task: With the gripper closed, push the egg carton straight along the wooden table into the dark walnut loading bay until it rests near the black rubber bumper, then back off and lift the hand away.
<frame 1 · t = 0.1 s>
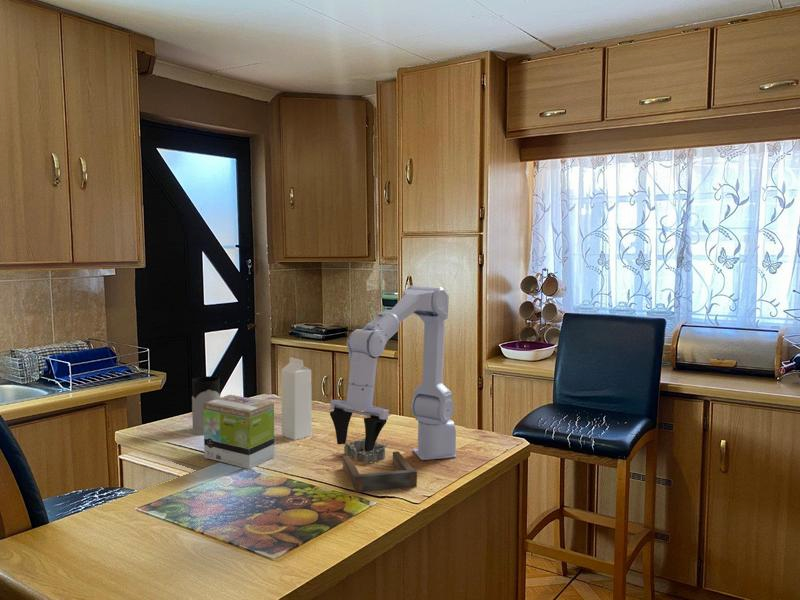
hand: (354, 447, 138), 11 cm above the kitchen island, tool pointing down, fingers open, 7 cm apart
milk: (296, 436, 179), on the kitchen island
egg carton: (364, 457, 163), on the kitchen island
dock: (377, 475, 150), on the kitchen island
tea box: (239, 459, 161), on the kitchen island
glass holder: (205, 428, 186), on the kitchen island
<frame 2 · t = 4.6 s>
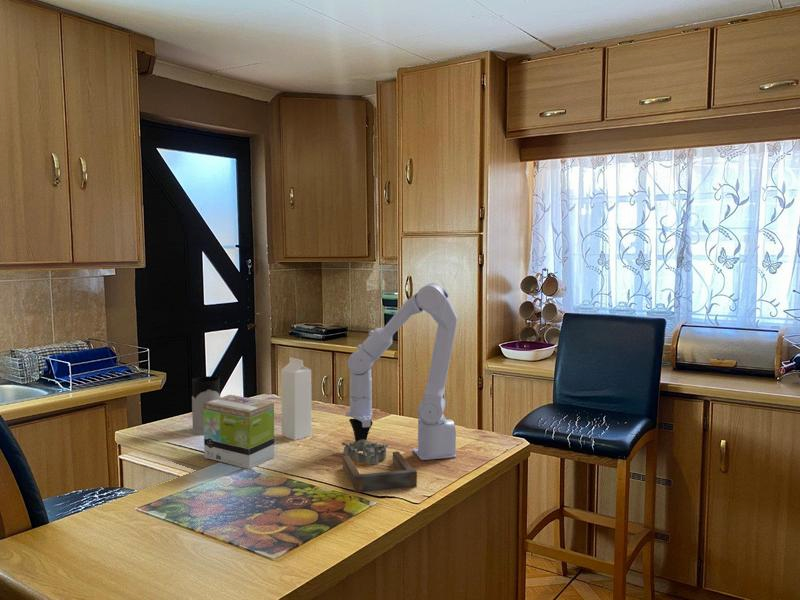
hand: (360, 446, 168), 1 cm above the kitchen island, tool pointing down, fingers closed
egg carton: (365, 458, 162), on the kitchen island, touching gripper
everything else where it was.
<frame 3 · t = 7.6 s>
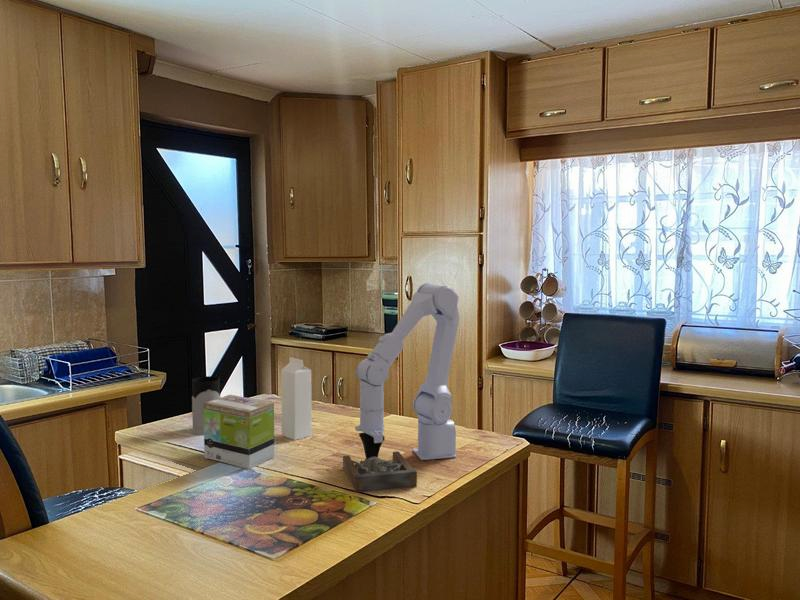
hand: (371, 462, 156), 1 cm above the kitchen island, tool pointing down, fingers closed
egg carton: (376, 478, 149), on the kitchen island
everything else where it was.
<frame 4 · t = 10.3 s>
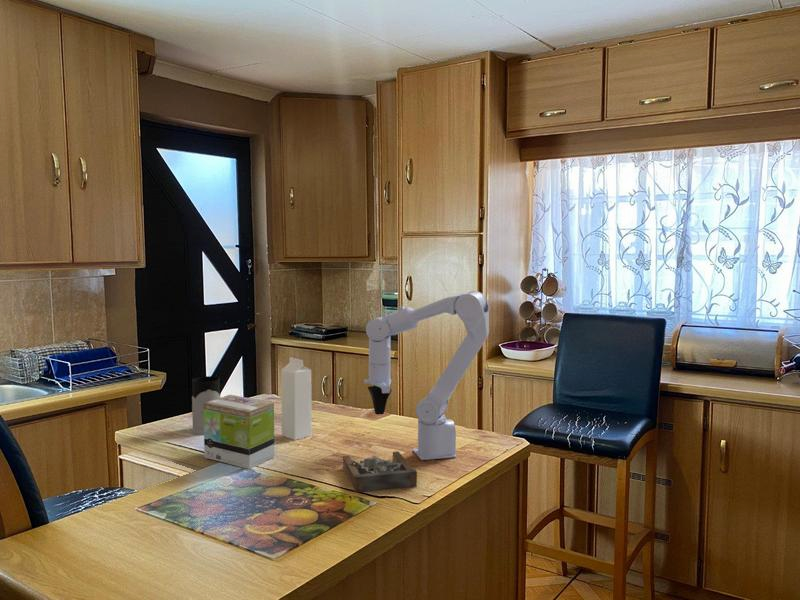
hand: (379, 413, 169), 9 cm above the kitchen island, tool pointing down, fingers closed
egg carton: (376, 477, 149), on the kitchen island, touching dock
everything else where it was.
at the end: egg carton inside the target area on the dock (0.7 cm from its centre), point 0.0 cm above the dock's base; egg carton tilted 2°; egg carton moved 14.4 cm from its start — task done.
